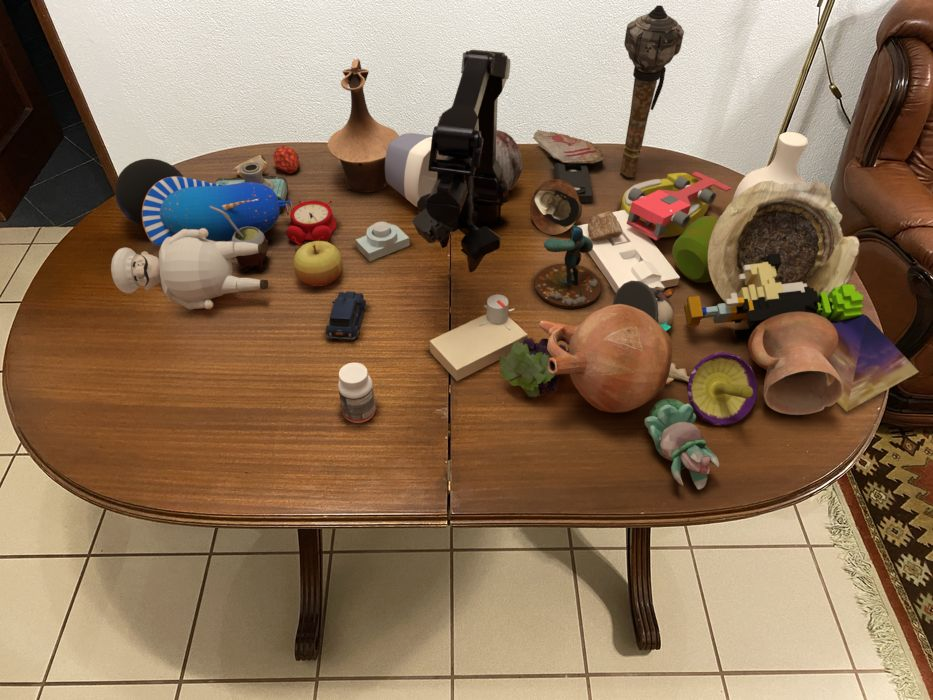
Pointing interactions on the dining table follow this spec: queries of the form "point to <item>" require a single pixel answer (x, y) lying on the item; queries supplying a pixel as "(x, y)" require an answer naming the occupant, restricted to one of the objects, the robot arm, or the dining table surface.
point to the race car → (669, 204)
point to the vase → (779, 164)
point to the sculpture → (508, 158)
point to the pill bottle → (356, 393)
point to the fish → (677, 374)
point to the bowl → (410, 166)
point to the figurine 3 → (647, 301)
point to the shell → (256, 159)
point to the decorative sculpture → (866, 361)
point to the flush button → (381, 229)
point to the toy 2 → (774, 300)
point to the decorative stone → (286, 159)
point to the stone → (603, 226)
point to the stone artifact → (568, 148)
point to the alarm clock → (311, 222)
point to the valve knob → (497, 309)
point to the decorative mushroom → (722, 389)
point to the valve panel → (475, 345)
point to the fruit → (530, 367)
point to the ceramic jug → (796, 362)
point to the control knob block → (381, 243)
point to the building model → (631, 258)
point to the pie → (782, 237)
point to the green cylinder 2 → (695, 249)
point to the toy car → (346, 316)
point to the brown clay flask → (361, 138)
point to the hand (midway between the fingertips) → (457, 259)
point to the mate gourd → (250, 237)
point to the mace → (647, 74)
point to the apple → (318, 263)
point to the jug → (612, 357)
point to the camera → (259, 180)
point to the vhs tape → (575, 179)
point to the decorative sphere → (140, 185)
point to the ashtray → (654, 185)
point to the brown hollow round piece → (555, 207)
